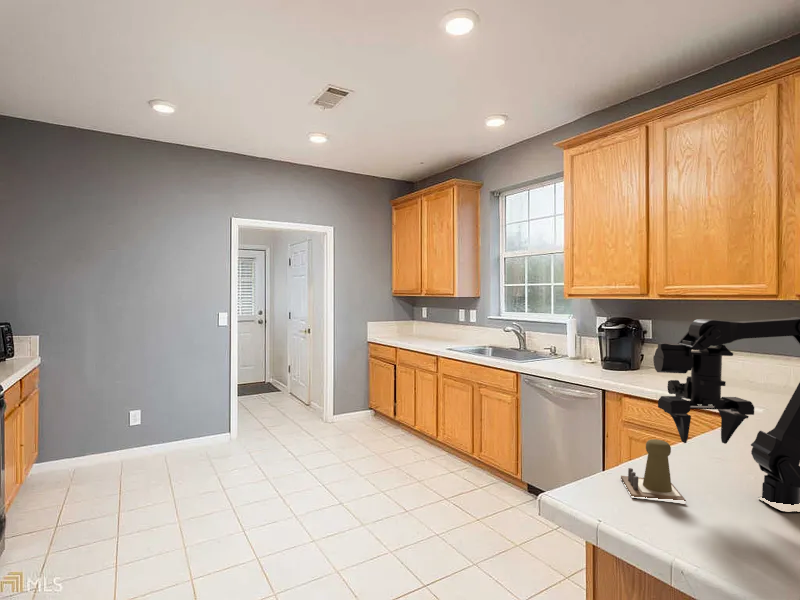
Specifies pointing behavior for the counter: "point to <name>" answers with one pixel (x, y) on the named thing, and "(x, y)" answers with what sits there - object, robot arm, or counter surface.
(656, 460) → the cork
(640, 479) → the pin board
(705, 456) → the counter surface
